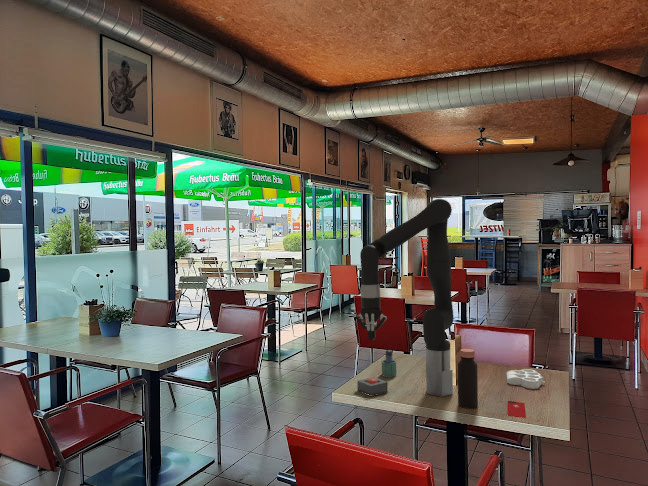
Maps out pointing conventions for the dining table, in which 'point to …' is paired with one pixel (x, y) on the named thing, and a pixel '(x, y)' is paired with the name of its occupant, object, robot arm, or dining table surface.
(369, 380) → the button
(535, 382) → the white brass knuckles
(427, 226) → the robot arm
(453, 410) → the dining table surface
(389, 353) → the marker
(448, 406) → the dining table surface
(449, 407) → the dining table surface
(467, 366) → the bottle
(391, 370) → the pen cup
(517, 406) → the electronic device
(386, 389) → the button console
